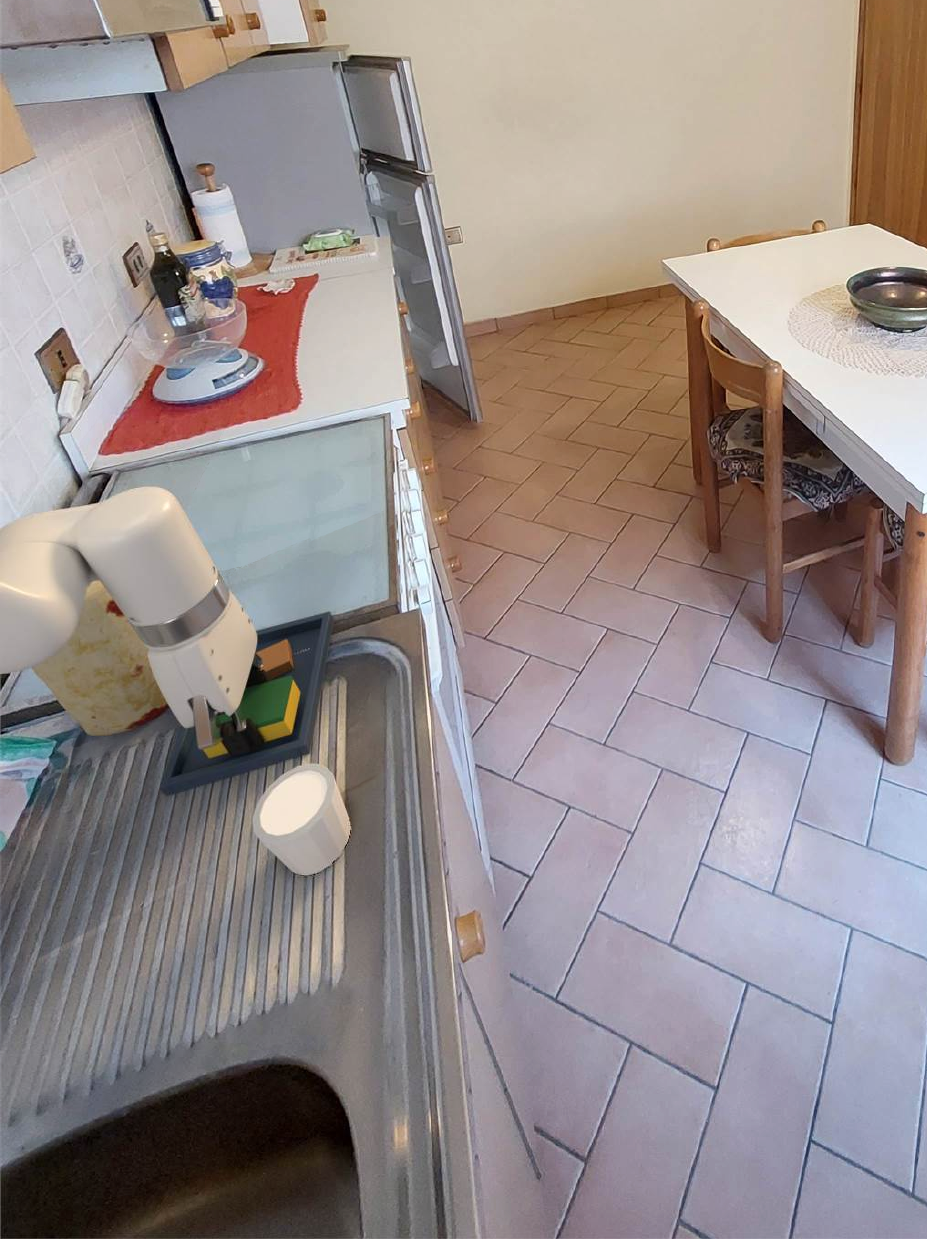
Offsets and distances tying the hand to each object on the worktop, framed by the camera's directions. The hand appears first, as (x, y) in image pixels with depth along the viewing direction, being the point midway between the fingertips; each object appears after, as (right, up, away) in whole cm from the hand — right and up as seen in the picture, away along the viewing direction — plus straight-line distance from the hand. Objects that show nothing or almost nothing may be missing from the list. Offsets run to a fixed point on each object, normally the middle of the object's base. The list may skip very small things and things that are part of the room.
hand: (254, 721), depth 77 cm
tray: (-2, 0, +5) cm, 5 cm away
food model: (-15, -2, +5) cm, 16 cm away
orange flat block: (-2, +2, +8) cm, 9 cm away
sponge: (0, 0, 0) cm, 0 cm away
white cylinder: (+11, -7, -9) cm, 16 cm away
